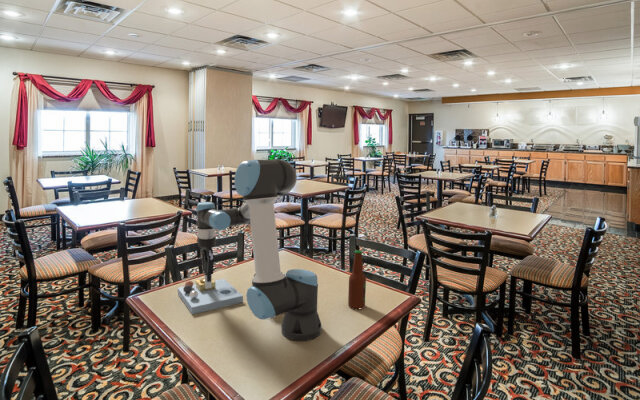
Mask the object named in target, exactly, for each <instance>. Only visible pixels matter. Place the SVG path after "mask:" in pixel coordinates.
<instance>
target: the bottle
mask: <svg viewBox="0 0 640 400" xmlns="http://www.w3.org/2000/svg"><path fill="white" fill-rule="evenodd" d="M362 257H363V251H362V250H360V249H356V250H354V259H353V264H352V273H350V275H349V277H348V295H347V297H348V299H347V305H348V308H350V307H351V308H350V309H352V308H355V309H359V308H363V307H364V306H366V289H367V288H366V287H367V286H366V284H367V278H366V276H365V274H364V265H363V258H362ZM364 308H365V307H364ZM364 308H363V309H364ZM355 309H354V310H355Z"/></svg>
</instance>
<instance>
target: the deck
mask: <svg viewBox="0 0 640 400" xmlns="http://www.w3.org/2000/svg"><path fill="white" fill-rule="evenodd" d="M214 281H215V285H216V288H214V289H210V290H205V291H199V289H198V288H197V287H196V283H195V284H193V286H192V290H191V292H192V291H197V293H198V297H197V298H196V299H191V298H190V293H191V292H189V293H185V292H184V290H183V289H184V287H185V285H184V286H180V287H177V295H178V296H179V298H180V299H181V300H182V302H183V304H184V305H185V306H186V307H187V309H188V310H189V312H190V313H191V315H196V314H200V313H203V312H208V311H211V310H212V311H213V310H217V309H220V308H225V307H229V306H232V305H237V304H241V303H244V296H243V294H241V292H239V291H238V290H237V289H236V288H235V287H234V286H233V285H232V284H230V283H229V282H228V281H227V280H226V279H225V278H222V279H216V280H214Z"/></svg>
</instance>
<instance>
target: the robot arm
mask: <svg viewBox="0 0 640 400" xmlns="http://www.w3.org/2000/svg"><path fill="white" fill-rule="evenodd" d="M297 178H298V177H297V172H296V169H295V168H294V166H293V165H292V164H291V163H290V162H288V161H287V160H284V159H251V160H245V161H242V162H241V163H239V165H238V166H237V169H236V171H235V174H234V188H235V190H236V193H237V194H238V195H240V196H242V198H243V202H244V203H243V204H242V205H241V206H239V207H234V208H226V209H225V208H224V209H216V206H215V205H216V204H215V203H214V202H211V201H204V202H203V201H202V202H198V203H197V206H196V219H197V222H196V223H197V245H198V247H200V249H199V251H200V255H201V266H202V271H203V274H204V275H203V276H204V278H205V288H206V289H208V288H212V279H213V277H212V275H213V274H214V266H215V257H216V256H215V254H214V250H213V247H215V246H216V243H217V239H216V231H217V230H218V231H224V230H226V229H228V228H230V227H235V226H242V225H250V233H251V242H252V250H253V251H252V252H253V263H254V270H255V271H254V272H255V273H256V275H255V276H254V275H253V278H251V283H252V284H251V286H250V287H249V288H247V290H246V291H247V292H246V293H245V294H246V302H247V304H248V307H249V310H250V311H251V313H252V314H253V315H254V316H255V317H256V318H257V319H259V320H267V319H273V318H275V317H277V316H280V315H283V314H284V316H283V319H282V322H281V333H282V336H283V337H285V338H287V339H289V340H293V341H298V342H300V341H301V342H303V341H311V340H314V339H315V338H316V339H317V337H319V336H320V335H321V334H322V328H323V327H322V322H321V319H320V316H319V312H318V290H319V289H318V288H319V284H318V282H319V281H318V275H317V274H316V273H315V272H313V271H311V270H307V269H301V268H295V269H294V268H292V269H289V270H287V271H286V273H283V272H282V271H281V263H280V252H279V244H278V233H277V222H276V214H275V213H276V212H275V201H276V200H277V199H279V198H280V197H284V196H286V195H287V194H289V193H290V192H291V191H292V190H293V189H294V187H295V186H296V184H297V180H298V179H297Z"/></svg>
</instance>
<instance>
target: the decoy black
mask: <svg viewBox="0 0 640 400" xmlns="http://www.w3.org/2000/svg"><path fill="white" fill-rule="evenodd" d="M184 286H185V285H184ZM184 286H183V287H184ZM183 290H184V292H185V293H189V292H191V290H192V287H191V286H190V285H186V286H185V287H184V289H183Z"/></svg>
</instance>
